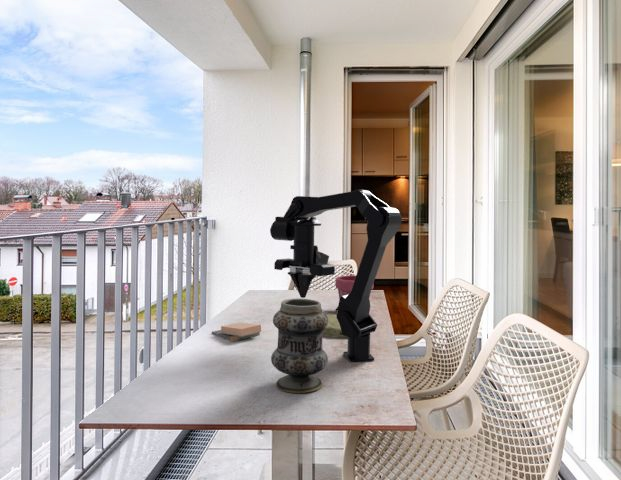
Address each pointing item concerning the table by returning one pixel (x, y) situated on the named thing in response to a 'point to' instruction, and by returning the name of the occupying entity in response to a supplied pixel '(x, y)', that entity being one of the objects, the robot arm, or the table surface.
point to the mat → (222, 334)
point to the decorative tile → (333, 327)
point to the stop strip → (235, 338)
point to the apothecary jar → (299, 345)
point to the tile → (241, 329)
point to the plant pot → (345, 284)
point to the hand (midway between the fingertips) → (303, 297)
